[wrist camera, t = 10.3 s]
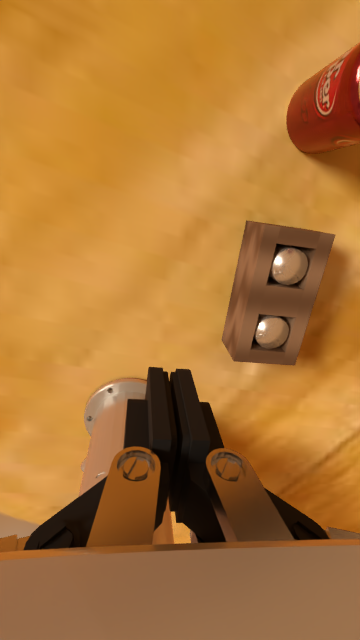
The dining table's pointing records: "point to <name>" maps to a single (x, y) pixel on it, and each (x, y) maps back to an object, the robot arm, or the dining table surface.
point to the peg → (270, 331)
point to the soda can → (328, 107)
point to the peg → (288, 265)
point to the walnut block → (273, 291)
